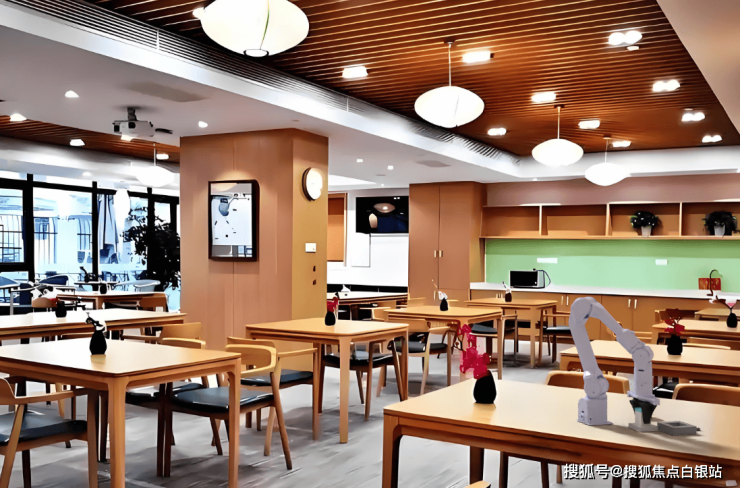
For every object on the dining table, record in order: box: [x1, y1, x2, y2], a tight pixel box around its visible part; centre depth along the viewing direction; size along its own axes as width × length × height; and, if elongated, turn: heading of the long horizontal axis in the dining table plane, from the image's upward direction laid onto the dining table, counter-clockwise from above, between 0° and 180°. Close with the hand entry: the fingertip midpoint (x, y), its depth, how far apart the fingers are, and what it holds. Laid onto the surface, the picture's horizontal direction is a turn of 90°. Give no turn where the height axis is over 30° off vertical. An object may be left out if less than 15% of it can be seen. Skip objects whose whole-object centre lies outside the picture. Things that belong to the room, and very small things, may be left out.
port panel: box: [656, 420, 701, 436], centre depth 229 cm, size 14×8×2 cm, turn 105°
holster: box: [627, 422, 659, 433], centre depth 232 cm, size 7×6×2 cm
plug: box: [634, 407, 652, 427], centre depth 232 cm, size 4×3×7 cm
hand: (643, 422), depth 232 cm, fingers closed on plug, 3 cm apart
